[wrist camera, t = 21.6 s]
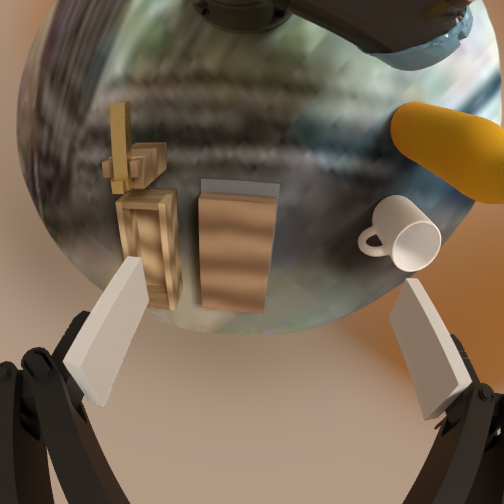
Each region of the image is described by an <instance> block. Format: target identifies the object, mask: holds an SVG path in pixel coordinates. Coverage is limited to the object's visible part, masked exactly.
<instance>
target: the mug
mask: <svg viewBox="0 0 504 504" xmlns="http://www.w3.org/2000/svg"><path fill="white" fill-rule="evenodd" d="M372 225H373V226H372V227H369V228H367V229H366V230H364V231H363V232H362V233H361V234H360V236H359V238H358V246H359V248H360V250H361V251H362V252H363V253H365V254H367V255H369V256H374V257H379V256H385V255H390V257H391V258H392V260H393V262H394V263H395V265H396V266H397V267H398V268H399V269H401V270H404V271H409V272H412V271H417V270H420V269H422V268H424V267H426V266H427V265H428V264H430V263H431V262H432V260H433V259H434V258H435V257H436V255H437V253H438V251H439V249H440V245H441V235H440V232H439V230H438V228H437V227H436V226H435V225H434V223H433V222H432V221H431V220H430V219H429V218H428V217H427V216H426V215H425V214H424V213H423V212H422V211H420V210H419V209H418V208H417V207H416V206H415V205H414V204H413V203H412V202H411V201H410V200H409V199H407V198H405V197H403V196H400V195H392V196H389V197H386V198H384V199H383V200H382V201H380V202H379V203H378V205H377V206H376V208H375V209H374V212H373V215H372ZM375 234H377V236H378V237H379V239H380V241H381V242H382V244H383V245H382V246H378V247H372V246H369V245H367V244H366V240H367V239H368V238H369V237H371V236H373V235H375Z"/></svg>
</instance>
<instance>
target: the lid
mask: <svg viewBox="0 0 504 504" xmlns="http://www.w3.org/2000/svg"><path fill="white" fill-rule="evenodd" d="M276 205H277V204H276V197H270V196H258V195H245V194H231V193H216V192H202V194H201V196H200V197H199V251H200V278H201V299H202V308H207V309H217V310H227V311H238V312H250V313H264V306H265V298H266V290H267V282H268V274H269V265H270V257H271V249H272V240H273V231H274V223H275V214H276Z"/></svg>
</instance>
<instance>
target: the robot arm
mask: <svg viewBox="0 0 504 504" xmlns="http://www.w3.org/2000/svg"><path fill="white" fill-rule="evenodd" d="M473 1H474V0H192V3H193V5H194V7H195V9H196V10H197V12H198V13H199V14H200V15H201V16H202V17H203V18H204V19H205V20H206V21H207V22H209V23H210V24H211V25H213V26H215V27H217V28H219V29H222V30H225V31H228V32H233V33H242V34H249V33H258V32H263V31H266V30H269V29H272V28H274V27H276V26H278V25H280V24H282V23H283V22H285V21H286V20H287V19H288V18H289V17H290V16H291V15H292V14H294V15H296V16H299V17H301V18H303V19H306V20H308V21H310V22H312V23H314V24H316V25H318V26H320V27H322V28H325V29H327V30H328V31H330V32H332V33H334V34H336V35H338V36H340V37H342V38H344V39H345V40H347V41H349V42H351V43H353V44H354V45H356V46H357V47H358V49H360V50H361V51H362V52H364V53H365V54H369V55H370V56H374V57H376V58H378V59H379V60H381V61H383V62H384V63H386V64H388V65H389V66H391V67H393V68H397V69H400V70H405V71H414V70H420V69H424V68H427V67H430V66H432V65H434V64H436V63H438V62H440V61H442V60H443V59H445V58H446V57H448V56H449V55H451V54H452V53H453V52H454V51H455V50H456V49H457V48H458V47H459V46H460V45H461V44H460V40H461V39H464V38H467V36H468V34H469V33H470V31H471V28H472V23H473V16H472V12H471V10H470V8H469V6H468V5H469V4H470V3H472V2H473ZM148 302H149V297H148V292H147V287H146V281H145V275H144V270H143V263H142V258H141V257H131V256H127V258H126V259H125V261H124V262H123V264H122V265H121V266H120V268H119V269H118V271H117V272H116V274H115V275H114V277H113V278H112V280H111V281H110V283H109V284H108V286H107V288H106V289H105V291H104V292H103V294H102V295H101V297H100V298H99V300H98V302H97V303H96V305H95V307H94V308H93V310H92V312H87V311H82V312H81V313H79V314H78V315H77V316H76V317H75V318H74V319H73V321H72V322H71V324H70V325H69V328H68V329H67V330H66V332H65V335H63V337H62V339H61V340H60V342H59V344H58V345H57V347H56V349H55V350H54V352H53V354H52V356H51V355H50V354H49V352H48V351H47V350H46V349H45V348H41V347H37V348H32V349H30V350H29V351H27V352H26V354H25V355H24V356H23V358H22V360H21V367H22V368H23V370H18V369H17V368H16V366H15V365H14V364H13V363H12V362H8V361H5V362H2V363H0V504H54V499H53V494H52V488H51V482H50V475H49V468H48V458H47V449H48V452H49V455H50V458H51V461H52V464H53V467H54V469H55V472H56V474H57V477H58V480H59V482H60V485H61V487H62V490H63V492H64V494H65V497H66V499H67V501H68V503H69V504H130V502H129V501H128V499H127V497H126V496H125V494H124V492H123V490H122V489H121V487H120V485H119V483H118V481H117V480H116V478H115V476H114V474H113V472H112V470H111V468H110V466H109V464H108V462H107V460H106V458H105V456H104V454H103V452H102V450H101V447H100V445H99V443H98V440H97V438H96V436H95V433H94V431H93V429H92V427H91V424H90V421H89V419H88V416H87V413H86V411H85V408H84V405H83V404H82V402H81V401H82V398H83V396H84V395H85V397H86V398H87V400H88V401H89V402H91V403H94V404H98V405H101V406H104V407H105V405H106V402H107V400H108V397H109V395H110V392H111V389H112V387H113V384H114V381H115V379H116V376H117V374H118V372H119V369H120V367H121V364H122V362H123V359H124V357H125V355H126V352H127V350H128V347H129V345H130V343H131V340H132V338H133V336H134V333H135V331H136V329H137V327H138V324H139V322H140V320H141V318H142V316H143V313H144V311H145V309H146V307H147V305H148ZM389 320H390V322H391V325H392V327H393V330H394V332H395V335H396V337H397V340H398V343H399V345H400V348H401V351H402V353H403V356H404V359H405V362H406V364H407V367H408V370H409V373H410V376H411V379H412V382H413V385H414V388H415V391H416V394H417V397H418V400H419V404H420V407H421V410H422V414H423V417H424V420H429V419H434V418H438V417H439V416H440V415H441V414H442V413H443V412H444V411H445V412H446V415H447V416H446V417H445V418H444V419H443V420H442V421H441V422H440V423H438V424H437V425H436V427H435V428H434V429H437V428H438V427H439V426H440V425H441V427H440V429H439V432H438V434H437V437H436V439H435V441H434V444H433V446H432V448H431V450H430V452H429V455H428V457H427V459H426V461H425V463H424V465H423V467H422V469H421V471H420V473H419V475H418V477H417V479H416V481H415V483H414V485H413V486H412V488H411V490H410V491H409V493H408V495H407V497H406V498H405V500H404V502H403V503H402V504H504V394H499V393H494V391H493V390H492V389H491V387H490V386H488V385H487V384H484V383H480V381H479V379H478V377H477V375H476V373H475V370H474V368H473V366H472V364H471V362H470V360H469V359H468V356H467V354H466V352H464V348H463V346H462V344H461V342H460V341H459V340H458V339H457V338H456V337H455V336H454V334H449V332H448V331H447V329H446V327H445V325H444V323H443V321H442V320H441V318H440V316H439V314H438V312H437V310H436V309H435V307H434V305H433V304H432V302H431V300H430V298H429V297H428V295H427V293H426V292H425V290H424V288H423V287H422V285H421V283H420V282H419V280H418V279H412V278H406V279H405V282H404V284H403V287H402V289H401V291H400V294H399V296H398V298H397V301H396V303H395V305H394V307H393V309H392V312H391V314H390V316H389ZM500 428H501V433H500V434H499V435H498V434H497V430H498V429H500ZM46 446H47V448H46Z"/></svg>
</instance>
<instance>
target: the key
mask: <svg viewBox="0 0 504 504" xmlns="http://www.w3.org/2000/svg"><path fill="white" fill-rule="evenodd" d="M110 123H111V144H112V159H113V171H114V180H113V181H111V184H112V193H113V194H124V193H126V192H127V191H129V190H130V189H132V188H133V187H134V182H133V177H131V172H130V161H131V160H132V151H131V124H130V101H129V102H119V103H113V104H110Z"/></svg>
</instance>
